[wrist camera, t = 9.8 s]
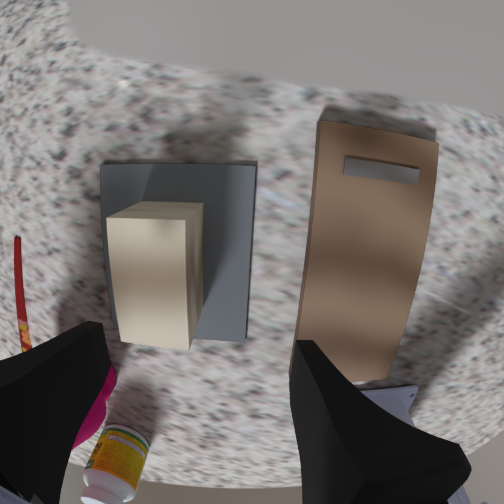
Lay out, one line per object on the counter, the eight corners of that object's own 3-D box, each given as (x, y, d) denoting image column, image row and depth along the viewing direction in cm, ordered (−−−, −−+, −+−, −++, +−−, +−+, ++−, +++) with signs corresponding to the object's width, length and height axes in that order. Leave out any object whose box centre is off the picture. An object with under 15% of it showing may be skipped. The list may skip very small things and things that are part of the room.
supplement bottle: (147, 457, 27) (127, 524, 18) (103, 440, 27) (76, 503, 17) (153, 434, 26) (129, 511, 16) (104, 415, 25) (70, 486, 16)
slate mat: (245, 339, 22) (245, 342, 21) (115, 326, 21) (114, 328, 21) (255, 166, 18) (255, 166, 18) (102, 164, 18) (100, 165, 18)
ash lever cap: (203, 307, 20) (189, 350, 16) (147, 302, 20) (121, 341, 16) (203, 202, 18) (185, 220, 14) (141, 201, 18) (106, 217, 13)
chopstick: (26, 237, 20) (19, 240, 19) (53, 421, 27) (49, 426, 26) (11, 231, 20) (4, 235, 19) (40, 415, 27) (37, 420, 26)
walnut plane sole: (382, 370, 23) (387, 380, 21) (288, 372, 22) (290, 384, 21) (429, 143, 17) (440, 143, 16) (317, 122, 17) (321, 119, 16)
